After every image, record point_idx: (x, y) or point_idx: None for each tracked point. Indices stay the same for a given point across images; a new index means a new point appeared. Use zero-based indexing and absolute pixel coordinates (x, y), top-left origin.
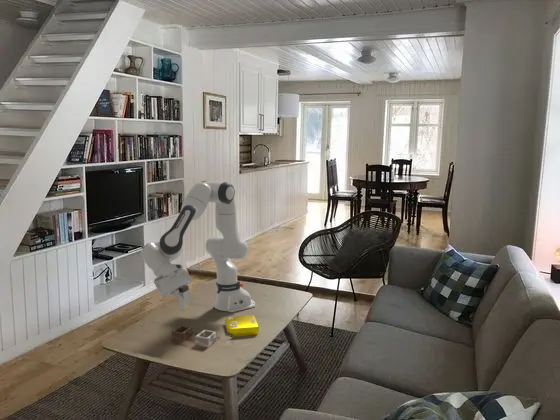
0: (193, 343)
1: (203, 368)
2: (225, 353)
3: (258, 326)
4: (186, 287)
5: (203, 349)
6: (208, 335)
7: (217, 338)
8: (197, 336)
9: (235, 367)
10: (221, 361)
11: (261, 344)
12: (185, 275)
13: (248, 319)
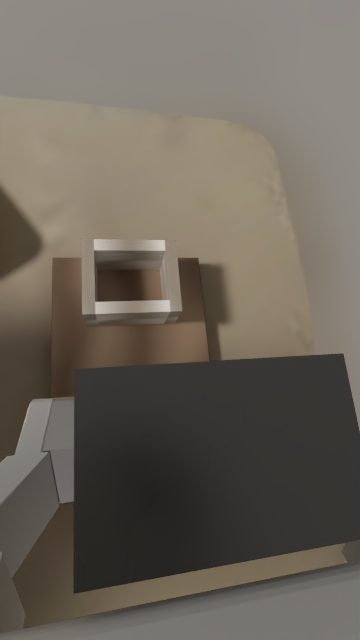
0: (167, 339)
1: (283, 215)
2: (155, 196)
3: None
4: (184, 367)
5: (194, 267)
6: (96, 291)
7: (69, 266)
8: (176, 300)
9: (224, 130)
10: (214, 184)
11: (21, 105)
12: None
13: None
